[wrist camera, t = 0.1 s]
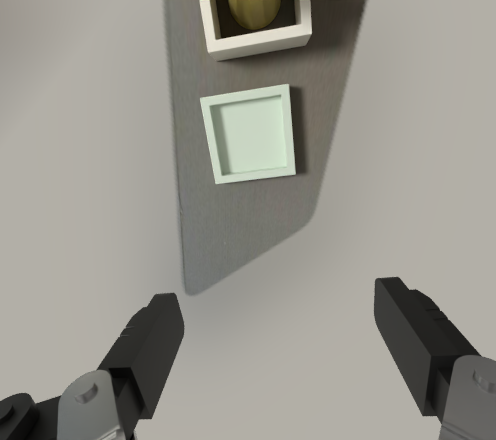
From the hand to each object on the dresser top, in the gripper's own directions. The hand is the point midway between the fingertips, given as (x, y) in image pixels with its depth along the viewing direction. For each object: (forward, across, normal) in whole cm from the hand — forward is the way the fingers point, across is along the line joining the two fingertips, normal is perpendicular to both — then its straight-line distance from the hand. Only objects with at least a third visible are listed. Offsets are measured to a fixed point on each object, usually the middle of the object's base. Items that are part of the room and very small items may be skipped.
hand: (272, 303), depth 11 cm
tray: (+29, +2, -5) cm, 30 cm away
